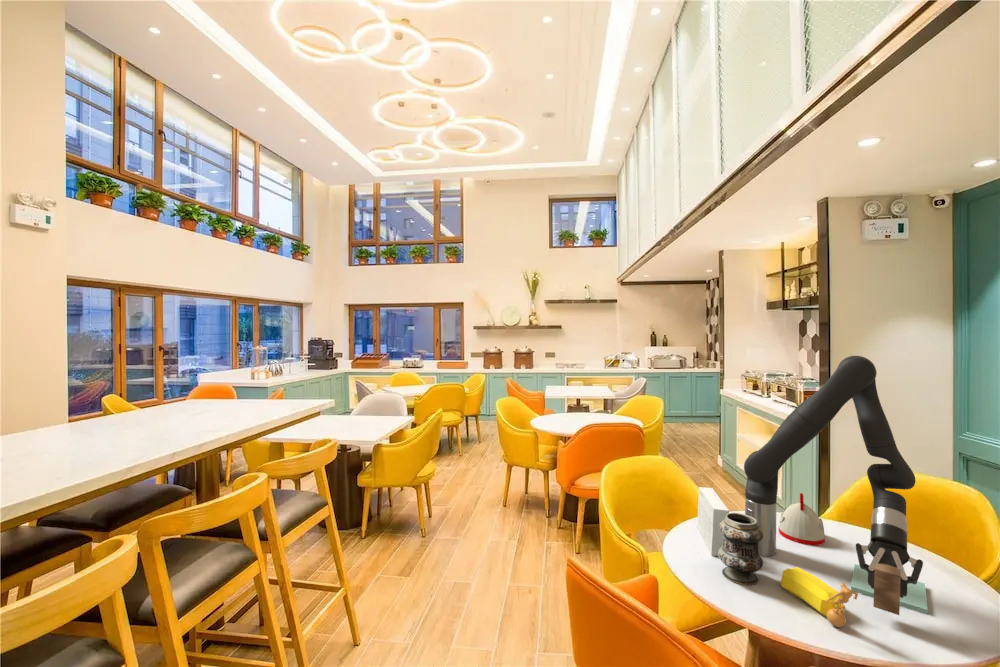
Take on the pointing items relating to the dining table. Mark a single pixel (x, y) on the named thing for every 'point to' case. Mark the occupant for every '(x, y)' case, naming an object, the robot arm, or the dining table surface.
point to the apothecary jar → (740, 548)
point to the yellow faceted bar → (809, 589)
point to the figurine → (836, 614)
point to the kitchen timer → (801, 524)
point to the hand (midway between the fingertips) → (887, 591)
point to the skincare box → (711, 519)
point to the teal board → (911, 601)
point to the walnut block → (887, 588)
